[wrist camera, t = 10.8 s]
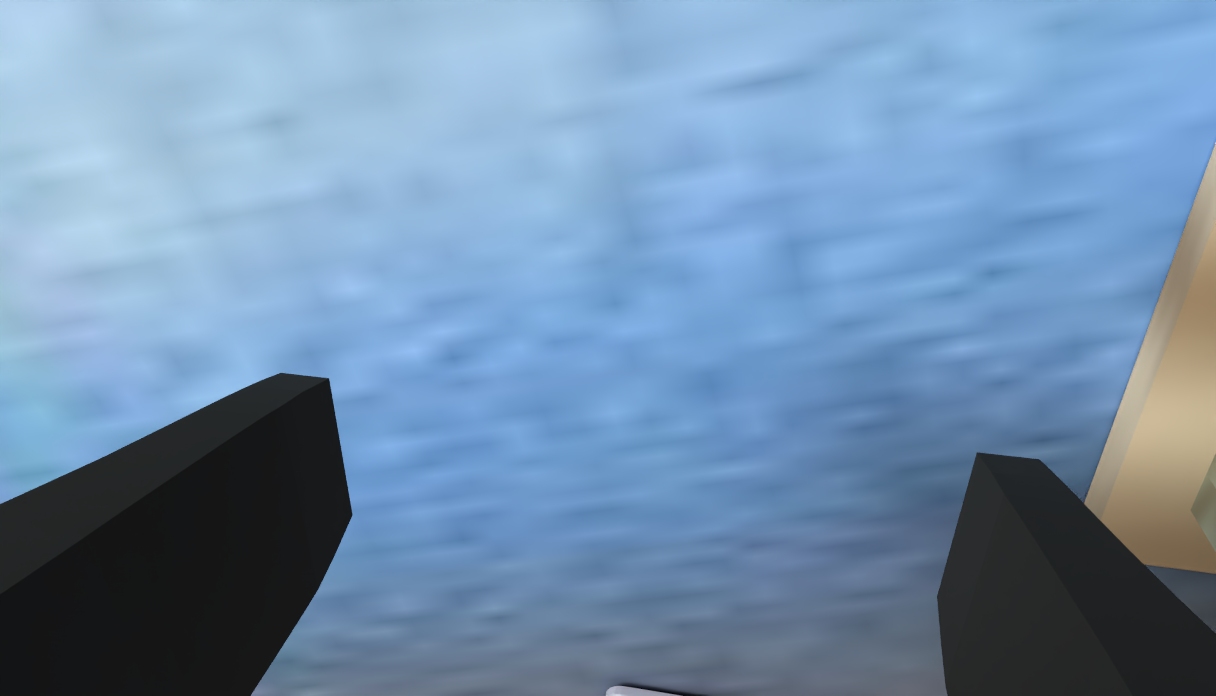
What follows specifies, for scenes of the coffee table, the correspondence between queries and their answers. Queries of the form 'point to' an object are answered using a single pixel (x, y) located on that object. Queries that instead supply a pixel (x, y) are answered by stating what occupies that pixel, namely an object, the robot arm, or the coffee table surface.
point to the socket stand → (1170, 415)
